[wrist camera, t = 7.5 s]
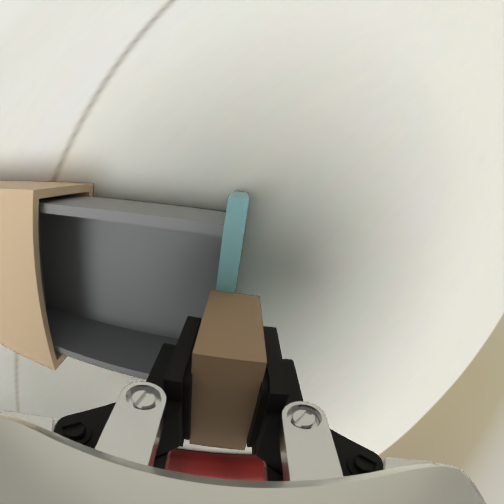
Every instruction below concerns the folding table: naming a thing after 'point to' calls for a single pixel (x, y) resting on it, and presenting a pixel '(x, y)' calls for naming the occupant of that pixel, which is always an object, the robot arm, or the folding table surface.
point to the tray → (156, 298)
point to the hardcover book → (217, 465)
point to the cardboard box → (26, 268)
